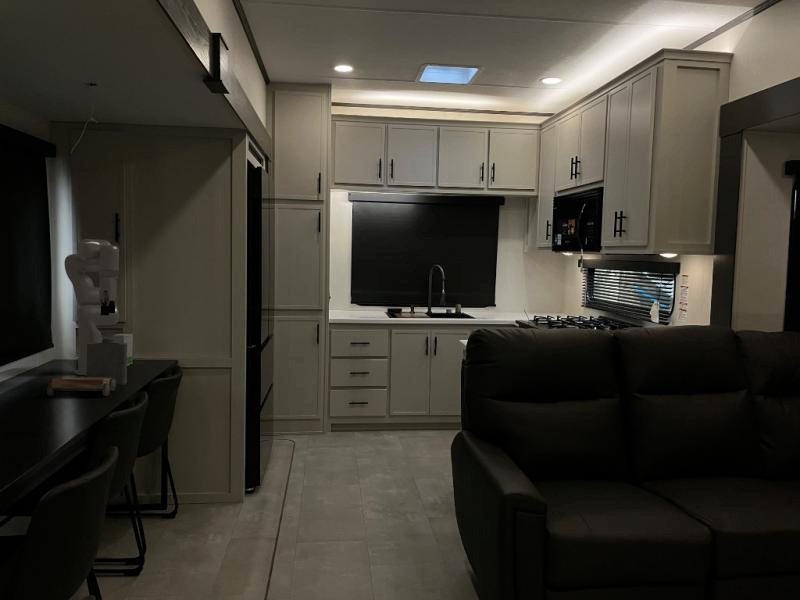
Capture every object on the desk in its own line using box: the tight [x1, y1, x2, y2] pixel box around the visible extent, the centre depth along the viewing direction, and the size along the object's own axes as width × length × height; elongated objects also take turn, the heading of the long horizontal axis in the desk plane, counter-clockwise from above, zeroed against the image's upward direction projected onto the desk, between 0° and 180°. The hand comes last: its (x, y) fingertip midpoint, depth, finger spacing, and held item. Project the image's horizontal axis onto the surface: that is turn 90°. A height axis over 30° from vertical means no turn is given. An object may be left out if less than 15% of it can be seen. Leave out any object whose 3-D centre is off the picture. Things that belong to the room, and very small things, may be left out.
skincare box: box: [112, 333, 134, 366], centre depth 298 cm, size 8×7×16 cm
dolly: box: [46, 376, 117, 397], centre depth 238 cm, size 14×21×7 cm, turn 102°
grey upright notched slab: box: [85, 336, 128, 385], centre depth 257 cm, size 16×4×20 cm, turn 103°
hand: (108, 314), depth 255 cm, fingers open, 9 cm apart
